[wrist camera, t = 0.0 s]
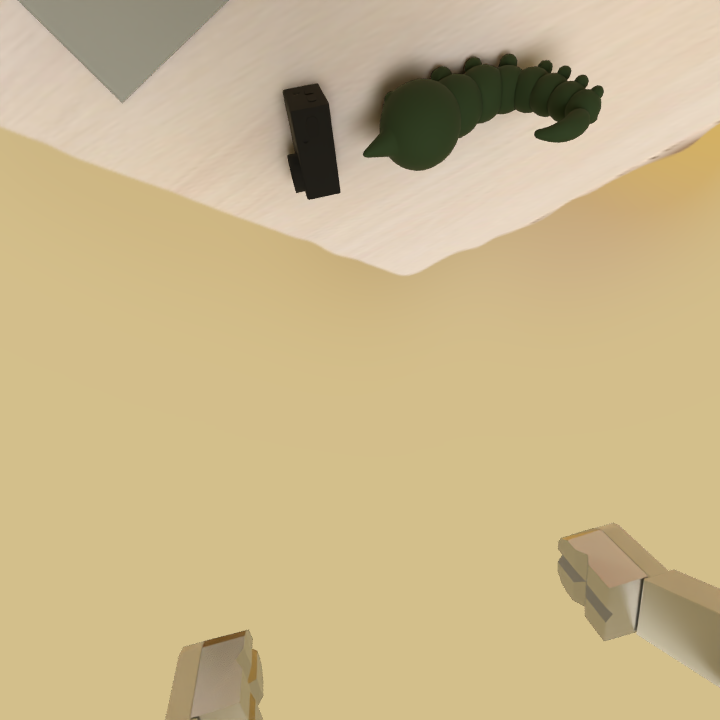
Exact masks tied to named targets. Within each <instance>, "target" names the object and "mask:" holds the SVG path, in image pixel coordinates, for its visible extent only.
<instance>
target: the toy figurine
mask: <svg viewBox="0 0 720 720" xmlns="http://www.w3.org/2000/svg"><path fill="white" fill-rule="evenodd" d="M552 67H553V66H552V63H551V62H550V61H549V60H546V61H542V62H541V63H540V64H539V65H538V67H537V66H536V67H528V68H526V69H524V70H522V69H520V68H519V67H517V59H516V57H515V56H514V55H513V54H506V55H505V56H503V57H502V59H501V60H500V64H499V68H496V67H494V66H491V65H487V64H483V65H482V63H481V61H480V59H479V58H476V57H472V58H471V59H469V60H468V61H467V62H466V65H465V73H464V74H452V73H451V71H450V70H449V69H448V68H447V67H442V66H441V67H438V68H437V69H435V70H434V71H433V72H432V75H431V79H416V80H413V81H410V82H408V83H405V84H403V85H401V86H400V87H398V88H397V89H396V90H394V91H391V92H388V93H387V94H386V96H385V99H384V102H385V103H384V104H383V110H382V114H381V119H380V134H379V135H378V136H377V137H376V139H375V140H374V141H373V142H372V143H371V144H370V145H369V146H368V147H367V149H366V150H365V151H364V153H363V156H364V157H367V158H371V157H390V158H391V159H392V161H394V162H395V163H396V164H397V165H399V166H401V167H403V168H405V169H409V170H415V171H421V170H426V169H429V168H432V167H434V166H436V165H437V164H439V163H441V162H442V161H443V160H444V159H445V158H446V157H447V156H448V155H449V154H450V153H451V152H452V150H453V148H454V146H455V145H456V143H457V140H458V138H461V137H463V136H465V135H466V134H468V133H469V132H471V131H472V130H473V129H474V127H475V126H476V124H479V123H484V122H486V121H489V120H490V119H492V118H493V117H494V116H495V115H496V114H506V113H510V112H512V111H514V110H515V109H516V110H517V111H520V112H523V113H531V112H534V113H536V114H537V115H539V116H543V117H548V116H551V117H552V118H553V119H554V120H555V121H557V123H555V124H553V125H551V126H549V127H546V128H542V129H538V130H536V131H535V133H534V135H535V137H536V138H538V139H540V140H544V141H548V142H558V143H560V142H567V141H570V140H573V139H575V138H577V137H578V136H580V135H582V134H583V133H584V131H585V130H586V129H587V128H588V126H589V124H592V123H594V122H595V121H596V120H597V117H598V114H599V112H600V109H601V99H600V98H601V97H602V96H603V93H604V90H603V87H602V86H598V85H597V86H595V87H593V88H592V89H591V90H590V89H585V88H586V87H587V85H588V82H589V80H588V78H587V76H586V75H580V76H578V77H577V78H576V79H575V81H567V79H568V78H569V77H570V74H571V68H570V67H569V66H562V67H561V68H559V70H558V72H557V73H551V71H552Z"/></svg>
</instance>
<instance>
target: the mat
mask: <svg viewBox="0 0 720 720" xmlns="http://www.w3.org/2000/svg"><path fill="white" fill-rule="evenodd" d="M18 1H19V2H20V3H21V4H22V5H23V6H24V7H25V8H26V9H27V10H28V11H29V12H30V13H31V14H32V15H33V16H34V17H35V18H36V19H37V20H38V21H39V22H40V23H41V24H42V25H43V26H44V27H45V28H46V29H47V30H48V31H49V32H50V33H51V34H53V35H54V36H55V37H56V38H57V39H58V40H59V41H60V42H61V43H62V44H63V45H64V46H65V47H66V48H67V49H68V50H69V51H70V52H71V53H72V54H73V55H74V56H75V57H76V58H77V59H78V60H79V61H80V62H81V63H82V64H83V65H84V66H85V67H86V68H87V69H88V70H89V71H90V72H91V73H92V74H93V75H94V76H95V77H96V78H97V79H98V80H99V81H100V82H101V83H102V84H103V85H104V86H105V87H106V88H107V89H108V90H109V91H110V92H112V93H113V94H114V95H115V96H116V97H117V98H118V99H119V100H120V101H121V102H122V103H123V102H124V101H125V100H126V99H127V98H128V97H129V96H130V95H131V94H132V93H133V92H134V91H135V90H136V89H138V88H139V87H140V86H141V85H142V84H143V83H144V82H145V81H146V80H147V79H148V78H149V77H150V76H151V75H152V74H153V73H154V72H155V71H156V70H157V69H158V68H159V67H160V66H161V65H162V64H163V63H164V62H165V61H166V60H168V59H169V58H170V57H171V56H172V55H173V54H174V53H175V52H176V51H177V50H178V49H179V48H180V47H181V46H182V45H183V44H184V43H185V42H186V41H187V40H188V39H189V38H190V37H191V36H192V35H193V34H194V33H195V32H197V31H198V30H199V29H200V28H201V27H202V26H203V25H204V24H205V23H206V22H207V21H208V20H209V19H210V18H211V17H212V16H213V15H214V14H215V13H216V12H217V11H218V10H219V9H220V8H221V7H222V6H223V5H224V4H225V3H227V2H228V1H229V0H18Z"/></svg>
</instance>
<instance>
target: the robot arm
mask: <svg viewBox="0 0 720 720" xmlns="http://www.w3.org/2000/svg"><path fill="white" fill-rule="evenodd" d="M558 550H559V551H560V552H561V553H562V556H561V558H560V559H559V561H558V573H559V576H560V579H561V582H562V584H563V586H564V588H565V590H566V591H567V593H568V594H569V595H570V597H571V598H572V600H574V601H575V602H577V603H579V604H581V605H583V606H584V607H585V617H586V618H587V619H588V621H589V622H590V624H591V625H592V626H593V627H594V629H595V630H596V631H597V633H598V634H599V635H600V637H601V638H602V639H603V641H607V640H611V639H614V638H617V637H621V636H624V635H627V634H631V633H635V632H637V635H639V636H640V637H642V638H643V639H645V640H646V641H648V642H649V643H651V644H653V645H654V646H656V647H657V648H659V649H661V650H662V651H663V652H665V653H667V654H668V655H670V656H671V657H673V658H674V659H676V660H678V661H679V662H681V663H682V664H684V665H685V666H687V667H688V668H690V669H692V670H693V671H695V672H696V673H698V674H699V675H701V676H702V677H704V678H706V679H707V680H709V681H711V682H712V683H713V684H715V685H716V686H718V687H720V589H719V588H717V587H714V586H712V585H710V584H707V583H705V582H702V581H700V580H697V579H695V578H693V577H690V576H688V575H686V574H683V573H681V572H679V571H676V570H671V571H668V570H667V569H666V568H665V567H664V566H663V565H662V564H661V563H659V562H658V561H657V560H656V559H655V558H654V557H653V556H652V555H651V554H650V553H649V552H648V551H646V550H645V549H644V548H643V547H642V546H641V545H640V544H639V543H638V542H637V541H636V540H634V539H633V538H632V537H631V536H630V535H629V534H628V533H627V532H626V531H625V530H624V529H622V528H621V527H620V526H619V525H617V524H615V523H611V524H608V525H604V526H600V527H597V528H592V529H589V530H585V531H582V532H579V533H576V534H572V535H570V536H566V537H563V538H561V539H560V540H559V542H558ZM252 640H253V639H252V636H251V634H250V631H249V630H245V631H241V632H238V633H234V634H230V635H226V636H222V637H218V638H214V639H211V640H207V641H203V642H199V643H196V644H192V645H189V646H185V647H183V648H182V650H181V653H180V655H179V658H178V663H177V667H176V672H175V676H174V681H173V686H172V690H171V695H170V700H169V705H168V709H167V714H166V719H165V720H263V718H262V715H261V713H260V710H259V708H258V705H259V703H260V701H261V699H262V697H263V674H262V666H261V661H260V657H259V654H258V652H257V651H256V650H254V649H252Z"/></svg>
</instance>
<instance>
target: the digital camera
mask: <svg viewBox="0 0 720 720" xmlns="http://www.w3.org/2000/svg"><path fill="white" fill-rule="evenodd" d="M283 96H284V101H285V106H286V111H287V116H288V120H289V125H290V130H291V135H292V140H293V145H294V149H295V154H290V155H287V156H288V162H289V166H290V171H291V175H292V179H293V183H294V187H295V191H296V193H299V192H303V191H305V192H306V196H307V199H308V200H310V199H315V198H320V197H324V196H329V195H334V194H339V193H341V192H340V185H339V177H338V169H337V162H336V154H335V147H334V139H333V132H332V124H331V117H330V109H329V103H328V101H327V99H326V98H325V96H324V94H323V92H322V90H321V89H320V87H319V85H318V84H312V85H307V86H302V87H296V88H291V89H286V90H283Z"/></svg>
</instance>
